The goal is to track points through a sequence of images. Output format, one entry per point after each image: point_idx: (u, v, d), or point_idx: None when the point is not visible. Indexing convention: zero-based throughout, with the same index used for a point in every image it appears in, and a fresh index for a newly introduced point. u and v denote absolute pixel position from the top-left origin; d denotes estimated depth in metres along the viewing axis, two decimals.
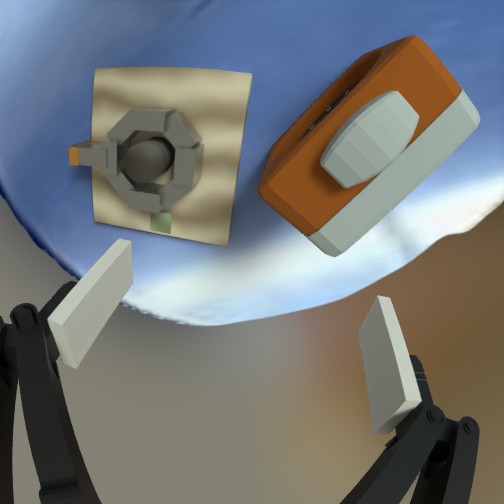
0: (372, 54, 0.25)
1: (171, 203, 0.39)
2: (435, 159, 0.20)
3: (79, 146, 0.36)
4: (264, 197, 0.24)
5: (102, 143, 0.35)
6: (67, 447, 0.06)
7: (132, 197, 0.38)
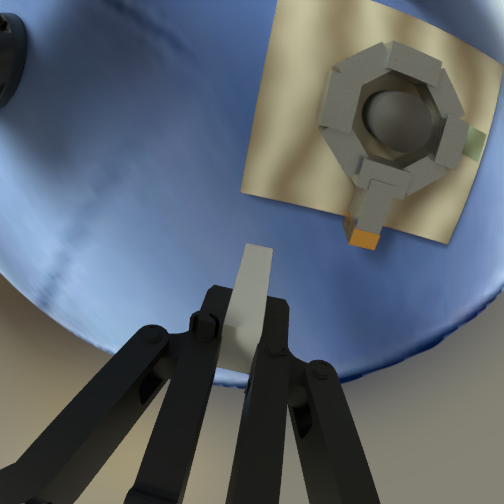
0: None
1: (458, 103, 0.20)
2: None
3: (352, 227, 0.27)
4: None
5: (360, 184, 0.25)
6: (187, 465, 0.07)
7: (444, 157, 0.22)
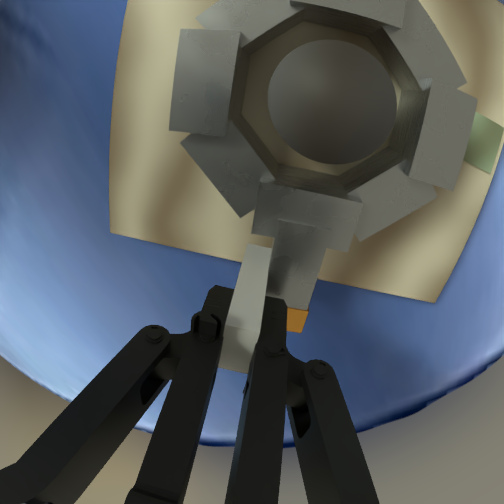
0: None
1: (452, 62, 0.10)
2: None
3: None
4: None
5: (259, 229, 0.14)
6: (188, 465, 0.07)
7: (430, 168, 0.12)
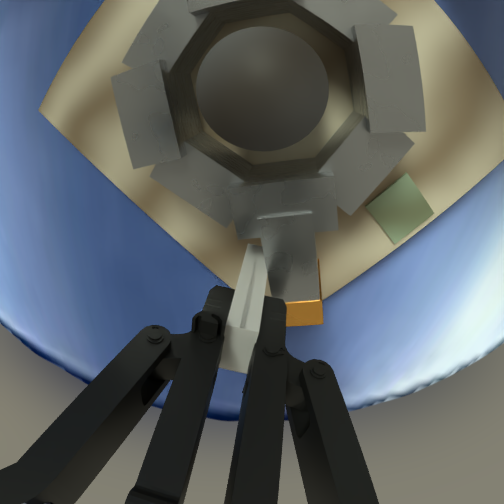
0: None
1: (373, 0, 0.09)
2: None
3: None
4: None
5: (244, 233, 0.14)
6: (188, 465, 0.07)
7: (390, 115, 0.11)
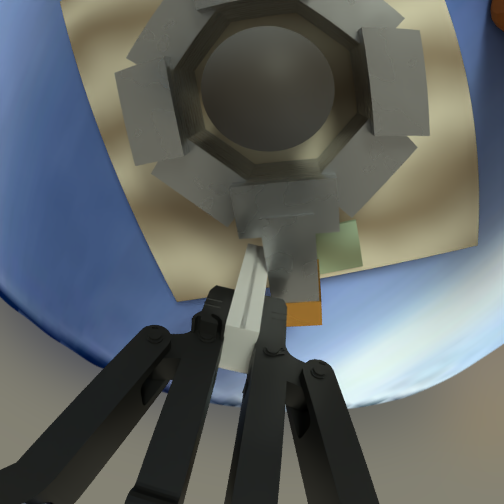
0: None
1: (380, 3, 0.09)
2: None
3: None
4: None
5: (245, 233, 0.14)
6: (188, 465, 0.07)
7: (394, 119, 0.11)
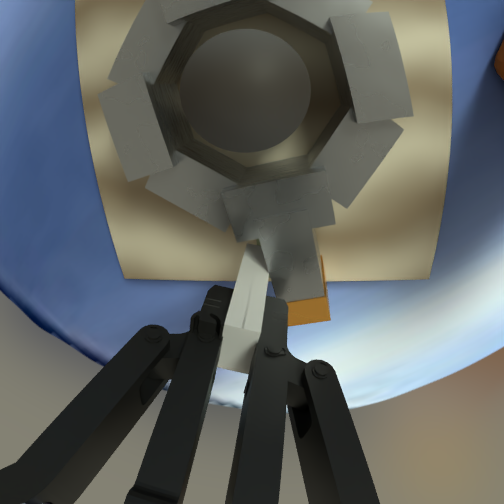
0: None
1: None
2: None
3: None
4: None
5: (242, 236, 0.14)
6: (187, 465, 0.07)
7: (375, 104, 0.11)
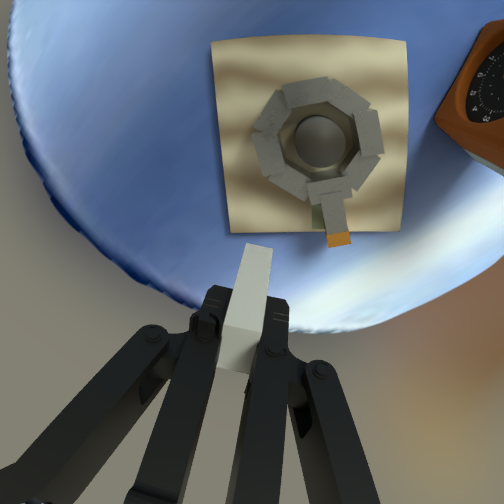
0: None
1: (361, 98, 0.27)
2: None
3: (326, 234, 0.35)
4: None
5: (313, 202, 0.33)
6: (187, 465, 0.07)
7: (369, 149, 0.29)
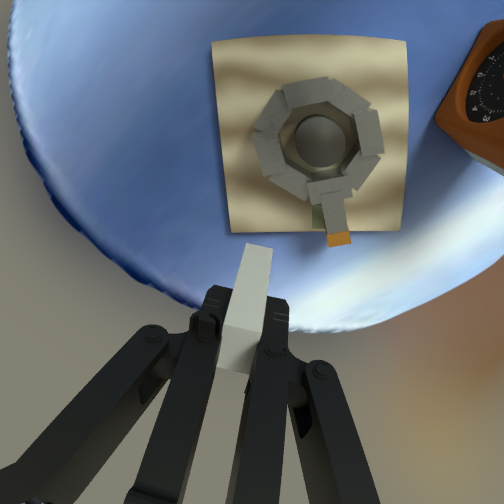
0: None
1: (361, 98, 0.27)
2: None
3: (326, 233, 0.35)
4: None
5: (313, 202, 0.33)
6: (187, 465, 0.07)
7: (369, 149, 0.29)
